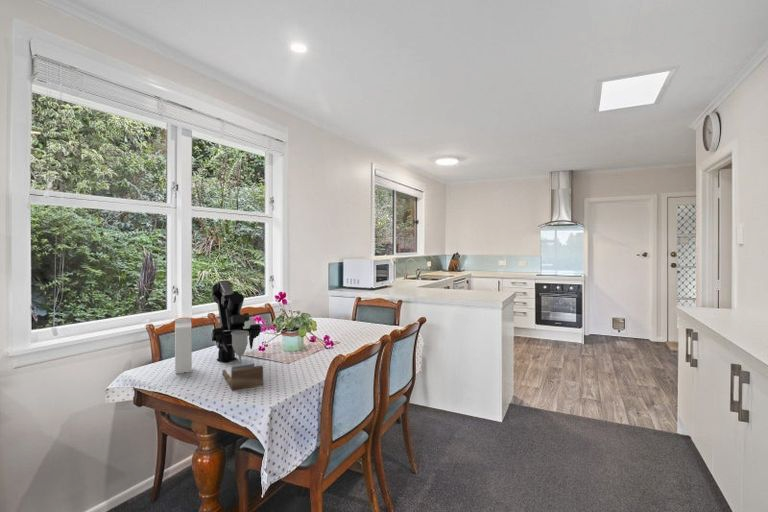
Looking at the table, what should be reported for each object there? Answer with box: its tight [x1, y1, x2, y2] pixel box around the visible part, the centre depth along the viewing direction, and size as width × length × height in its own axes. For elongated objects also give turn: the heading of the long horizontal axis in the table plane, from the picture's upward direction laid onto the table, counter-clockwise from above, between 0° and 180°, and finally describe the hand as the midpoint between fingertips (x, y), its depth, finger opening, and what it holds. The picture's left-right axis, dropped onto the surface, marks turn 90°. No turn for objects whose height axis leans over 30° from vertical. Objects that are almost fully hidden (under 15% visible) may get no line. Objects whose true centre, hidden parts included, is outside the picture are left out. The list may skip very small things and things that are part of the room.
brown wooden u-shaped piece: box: [221, 365, 264, 391], centre depth 156 cm, size 20×11×7 cm, turn 32°
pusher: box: [230, 363, 255, 371], centre depth 154 cm, size 1×8×6 cm, turn 122°
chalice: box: [231, 330, 249, 366], centre depth 159 cm, size 7×7×18 cm
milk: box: [174, 317, 193, 374], centre depth 166 cm, size 6×6×22 cm
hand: (239, 350), depth 159 cm, fingers open, 9 cm apart
